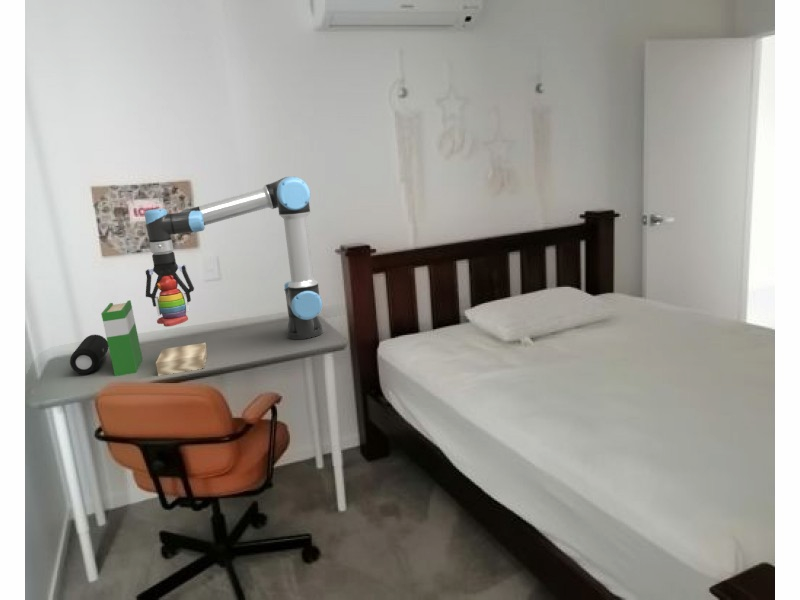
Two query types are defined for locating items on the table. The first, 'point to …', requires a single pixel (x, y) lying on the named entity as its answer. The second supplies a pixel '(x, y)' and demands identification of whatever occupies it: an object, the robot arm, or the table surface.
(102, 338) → the portable speaker
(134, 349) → the hardback book
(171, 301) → the stacking bear
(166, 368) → the wooden block
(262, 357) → the table surface
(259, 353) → the table surface
